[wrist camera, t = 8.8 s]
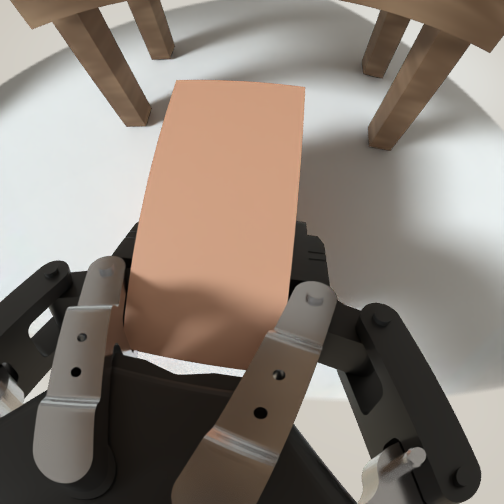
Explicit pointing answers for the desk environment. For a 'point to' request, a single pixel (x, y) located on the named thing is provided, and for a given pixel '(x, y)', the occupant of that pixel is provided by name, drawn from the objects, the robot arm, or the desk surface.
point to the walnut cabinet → (389, 3)
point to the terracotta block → (217, 223)
